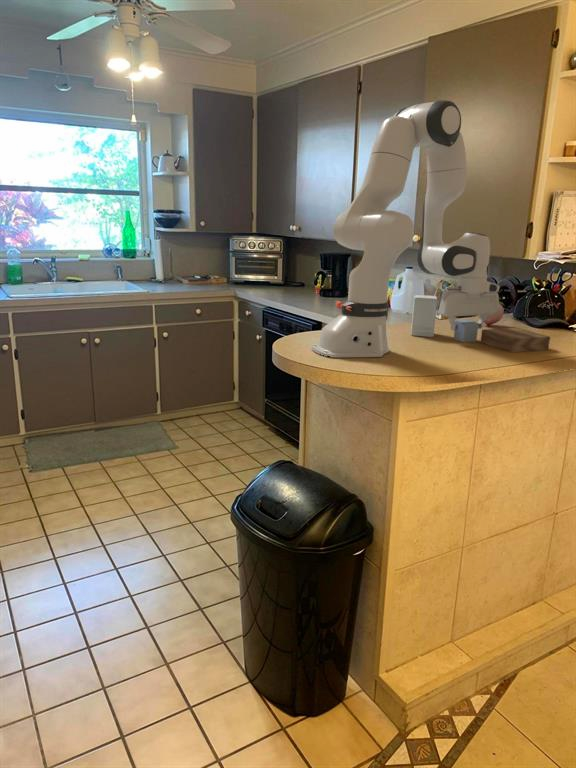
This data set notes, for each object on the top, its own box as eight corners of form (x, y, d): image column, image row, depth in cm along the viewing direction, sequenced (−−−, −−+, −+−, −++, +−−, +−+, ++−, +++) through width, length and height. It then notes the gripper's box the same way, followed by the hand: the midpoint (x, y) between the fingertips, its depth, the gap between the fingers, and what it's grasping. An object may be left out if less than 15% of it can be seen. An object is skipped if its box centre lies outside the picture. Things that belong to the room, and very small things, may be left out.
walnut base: (511, 352, 170) (513, 338, 169) (480, 342, 183) (482, 329, 182) (548, 349, 175) (550, 336, 174) (515, 339, 188) (517, 327, 186)
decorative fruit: (480, 327, 207) (483, 299, 204) (473, 323, 215) (476, 296, 212) (506, 328, 207) (510, 300, 204) (498, 324, 215) (501, 297, 212)
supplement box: (433, 337, 188) (437, 298, 184) (410, 335, 189) (414, 297, 186) (432, 333, 195) (436, 295, 191) (410, 331, 196) (414, 294, 193)
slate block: (463, 342, 182) (465, 323, 181) (453, 338, 187) (455, 320, 185) (476, 341, 184) (478, 322, 182) (466, 338, 188) (468, 320, 187)
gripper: (449, 288, 174) (444, 332, 178) (503, 286, 181) (498, 329, 185) (437, 285, 180) (433, 329, 184) (490, 283, 187) (485, 325, 191)
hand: (466, 329), depth 185 cm, fingers open, 8 cm apart
